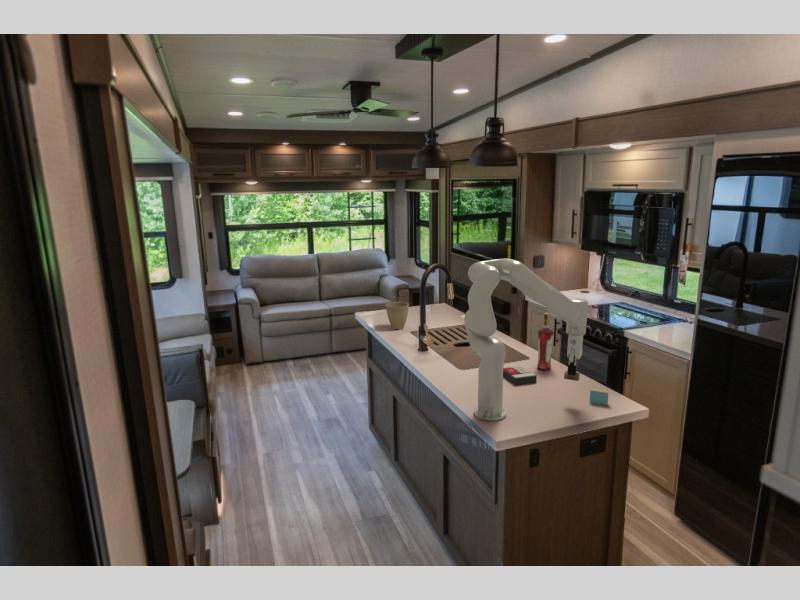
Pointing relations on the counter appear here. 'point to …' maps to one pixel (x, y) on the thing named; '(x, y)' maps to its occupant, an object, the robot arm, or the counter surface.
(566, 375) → the tan stepped block
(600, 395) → the tile
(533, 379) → the calculator
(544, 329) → the liquor
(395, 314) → the plant pot
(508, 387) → the counter surface
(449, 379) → the counter surface
